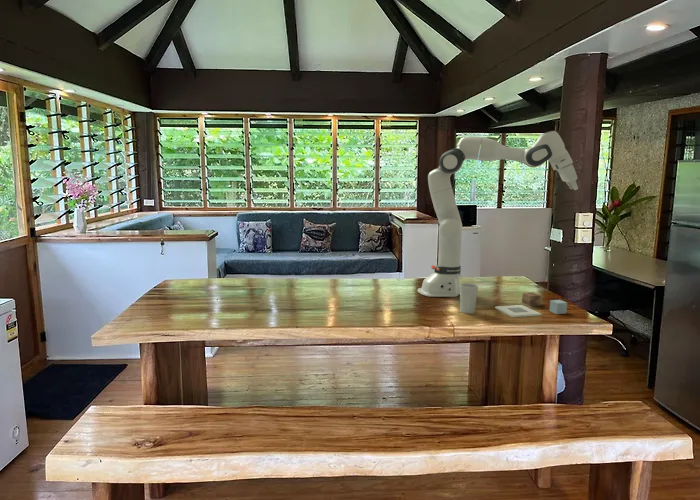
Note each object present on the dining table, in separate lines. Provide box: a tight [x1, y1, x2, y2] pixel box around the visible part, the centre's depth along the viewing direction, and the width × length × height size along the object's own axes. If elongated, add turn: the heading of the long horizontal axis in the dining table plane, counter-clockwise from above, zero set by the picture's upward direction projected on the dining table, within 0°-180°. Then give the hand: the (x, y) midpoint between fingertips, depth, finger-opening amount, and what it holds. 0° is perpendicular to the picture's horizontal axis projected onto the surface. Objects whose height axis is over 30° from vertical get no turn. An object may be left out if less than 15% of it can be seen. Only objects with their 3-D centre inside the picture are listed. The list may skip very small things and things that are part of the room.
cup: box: [459, 282, 479, 314], centre depth 213 cm, size 8×8×12 cm
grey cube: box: [548, 299, 568, 315], centre depth 215 cm, size 5×5×5 cm
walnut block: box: [521, 291, 542, 307], centre depth 227 cm, size 6×6×5 cm
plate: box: [494, 304, 542, 318], centre depth 215 cm, size 14×14×1 cm
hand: (574, 189), depth 224 cm, fingers open, 8 cm apart
